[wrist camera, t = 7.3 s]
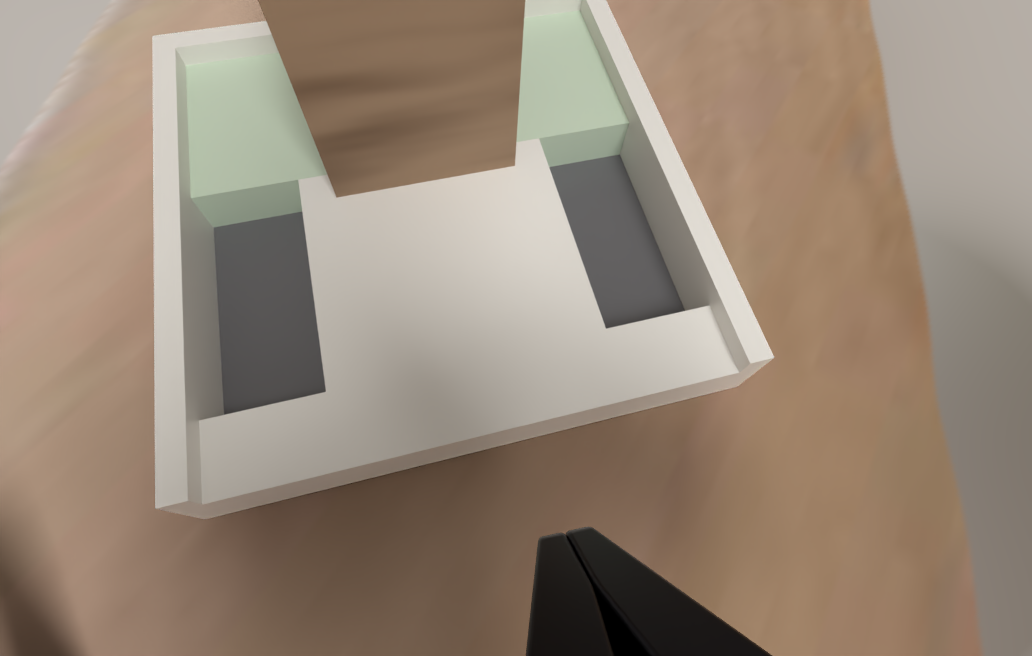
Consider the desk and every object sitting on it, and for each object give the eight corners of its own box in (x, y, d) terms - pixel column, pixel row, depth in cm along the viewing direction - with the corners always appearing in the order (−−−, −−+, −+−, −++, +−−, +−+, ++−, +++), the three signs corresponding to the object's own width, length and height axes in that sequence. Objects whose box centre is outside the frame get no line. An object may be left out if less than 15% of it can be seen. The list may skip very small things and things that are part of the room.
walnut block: (514, 165, 26) (529, -64, 17) (336, 197, 24) (246, -30, 15) (475, 43, 29) (468, -207, 20) (315, 66, 28) (229, -187, 18)
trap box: (736, 386, 24) (774, 357, 21) (205, 519, 21) (155, 508, 18) (585, 36, 33) (595, -23, 30) (188, 94, 30) (152, 36, 27)
